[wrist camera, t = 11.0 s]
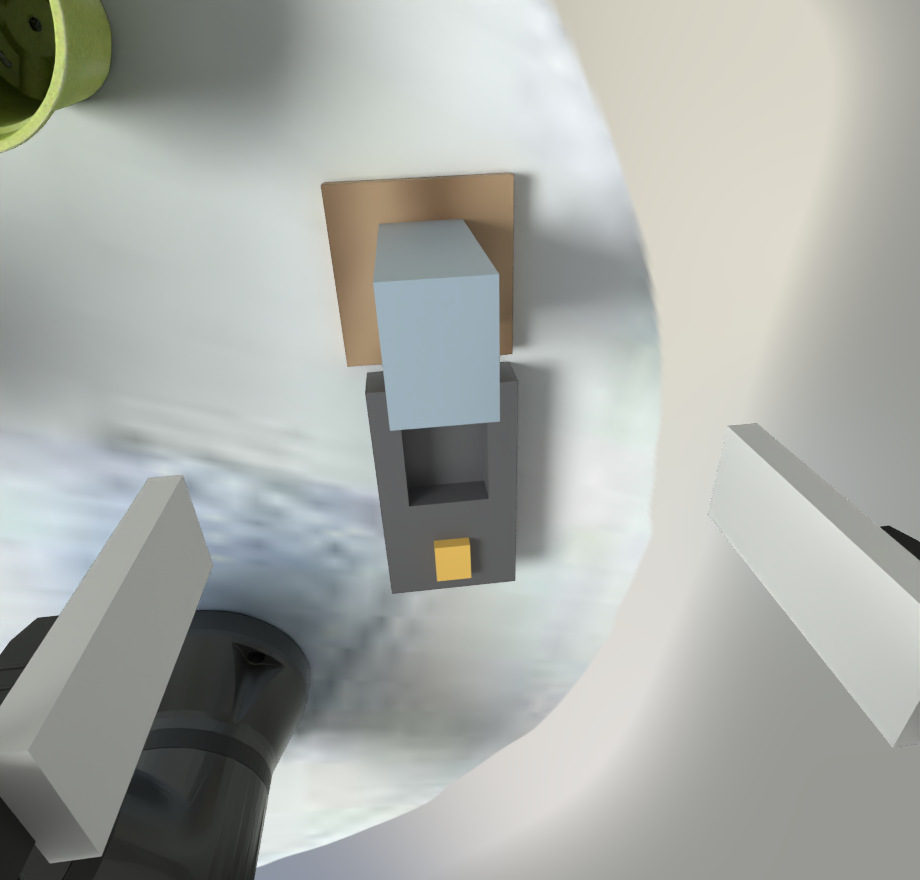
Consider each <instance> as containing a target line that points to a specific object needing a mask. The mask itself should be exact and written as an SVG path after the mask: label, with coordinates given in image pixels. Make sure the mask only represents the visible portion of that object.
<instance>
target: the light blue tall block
mask: <svg viewBox="0 0 920 880" xmlns="http://www.w3.org/2000/svg"><path fill="white" fill-rule="evenodd" d="M373 286H374V295H375V304H376V313H377V321H378V330H379V339H380V347H381V356H382V365H383V374H384V382H385V391H386V400H387V409H388V417H389V426H390V431H393V430H405V429H417V428H429V427H441V426H452V425H464V424H476V423H488V422H500V343H499V273H498V272H497V270H496V269H495V267H494V266H493V264H492V263H491V261H490V259H489V258H488V256H487V255H486V253H485V252H484V250H483V249H482V247H481V246H480V244H479V243H478V241H477V240H476V238H475V237H474V235H473V234H472V232H471V231H470V229H469V228H468V226H467V225H466V223H465V222H464V220H463V219H451V220H434V221H417V222H400V223H384V224H379V226H378V236H377V247H376V257H375V268H374V278H373Z"/></svg>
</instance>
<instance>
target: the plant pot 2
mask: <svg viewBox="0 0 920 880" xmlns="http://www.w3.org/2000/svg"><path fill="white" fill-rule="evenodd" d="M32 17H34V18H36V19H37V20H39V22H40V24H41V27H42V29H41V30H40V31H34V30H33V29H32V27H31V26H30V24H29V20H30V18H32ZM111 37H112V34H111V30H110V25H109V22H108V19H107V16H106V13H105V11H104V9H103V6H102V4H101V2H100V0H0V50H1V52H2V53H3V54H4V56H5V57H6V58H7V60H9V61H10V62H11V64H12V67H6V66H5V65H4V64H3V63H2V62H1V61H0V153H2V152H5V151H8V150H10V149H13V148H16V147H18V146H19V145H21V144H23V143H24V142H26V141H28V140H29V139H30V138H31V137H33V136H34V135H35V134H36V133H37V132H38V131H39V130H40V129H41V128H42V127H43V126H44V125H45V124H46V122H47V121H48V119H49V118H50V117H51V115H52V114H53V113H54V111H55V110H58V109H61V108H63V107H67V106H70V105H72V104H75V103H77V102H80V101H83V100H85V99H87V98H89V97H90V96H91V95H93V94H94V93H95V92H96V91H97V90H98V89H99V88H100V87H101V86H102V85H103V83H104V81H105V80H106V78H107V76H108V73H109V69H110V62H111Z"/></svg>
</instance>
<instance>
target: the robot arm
mask: <svg viewBox="0 0 920 880" xmlns="http://www.w3.org/2000/svg"><path fill="white" fill-rule="evenodd" d="M708 516H709V517H710V518H711V519H712V521H713V522H714V523H715V524H716V526H717V527H718V528H719V530H720V531H721V532H722V533H723V535H724V536H725V537H726V538H727V540H728V541H729V542H730V543H731V545H732V546H733V547H734V548H735V550H736V551H737V552H738V553H739V555H740V556H741V557H742V558H743V560H744V561H745V562H746V563H747V565H748V566H749V567H750V569H751V570H752V571H753V572H754V573H755V575H756V576H757V577H758V578H759V580H760V581H761V582H762V584H763V585H764V586H765V587H766V589H767V590H768V591H769V592H770V594H771V595H772V596H773V598H774V599H775V600H776V601H777V603H778V604H779V605H780V606H781V608H782V609H783V610H784V611H785V613H786V614H787V615H788V616H789V618H790V619H791V620H792V621H793V623H794V624H795V625H796V626H797V628H798V629H799V630H800V632H801V633H802V634H803V635H804V637H805V638H806V639H807V640H808V642H809V643H810V644H811V645H812V647H813V648H814V649H815V650H816V652H817V653H818V654H819V655H820V657H821V658H822V659H823V660H824V661H825V663H826V664H827V666H828V667H829V668H830V669H831V671H832V672H833V673H834V674H835V675H836V677H837V678H838V679H839V681H840V682H841V683H842V684H843V686H844V687H845V688H846V689H847V691H848V692H849V693H850V694H851V696H852V697H853V698H854V699H855V701H856V702H857V703H858V705H859V706H860V707H861V708H862V710H863V711H864V712H865V713H866V715H867V716H868V717H869V718H870V719H871V721H872V722H873V723H874V725H875V726H876V727H877V728H878V730H879V731H880V732H881V733H882V735H883V736H884V737H885V739H886V740H887V741H888V742H889V743H890V745H891V746H892V747H893V748H894V747H902V746H909V745H916V744H920V542H919V541H918V540H916V539H914V538H912V537H910V536H908V535H906V534H904V533H902V532H900V531H898V530H896V529H894V528H892V527H891V526H881V527H879V526H878V525H877V524H876V523H874V522H873V521H872V520H871V519H870V518H868V517H867V516H866V515H865V514H864V513H862V512H861V511H860V510H859V509H858V508H857V507H855V506H854V505H853V504H852V503H851V502H850V501H848V500H847V499H846V498H845V497H843V496H842V495H841V494H840V493H839V492H837V491H836V490H835V489H834V488H833V487H832V486H831V485H829V484H828V483H827V482H826V481H825V480H823V479H822V478H821V477H820V476H819V475H817V474H816V473H815V472H814V471H813V470H812V469H810V468H809V467H808V466H807V465H806V464H805V463H803V462H802V461H801V460H800V459H799V458H797V457H796V456H795V455H794V454H793V453H791V452H790V451H789V450H788V449H787V448H786V447H784V446H783V445H782V444H781V443H780V442H778V441H777V440H776V439H775V438H774V437H773V436H771V435H770V434H769V433H768V432H767V431H765V430H764V429H763V428H762V427H761V426H759V425H758V424H757V423H754V424H742V425H731V426H727V430H726V434H725V439H724V443H723V448H722V452H721V457H720V461H719V466H718V470H717V475H716V479H715V484H714V488H713V493H712V498H711V503H710V507H709V511H708ZM212 567H213V563H212V560H211V557H210V554H209V551H208V548H207V546H206V543H205V540H204V537H203V534H202V531H201V528H200V525H199V522H198V519H197V516H196V513H195V510H194V507H193V504H192V501H191V498H190V495H189V492H188V489H187V486H186V483H185V480H184V477H183V475H177V476H166V477H155V478H148V480H147V481H146V483H145V484H144V486H143V487H142V489H141V490H140V492H139V494H138V495H137V497H136V498H135V500H134V501H133V503H132V504H131V506H130V507H129V509H128V510H127V512H126V513H125V515H124V517H123V518H122V520H121V521H120V523H119V524H118V526H117V527H116V529H115V530H114V532H113V533H112V535H111V537H110V538H109V540H108V541H107V543H106V544H105V546H104V547H103V549H102V550H101V552H100V553H99V555H98V557H97V558H96V560H95V561H94V563H93V564H92V566H91V567H90V569H89V570H88V572H87V573H86V575H85V577H84V578H83V580H82V581H81V583H80V584H79V586H78V587H77V589H76V590H75V592H74V593H73V595H72V597H71V598H70V600H69V601H68V603H67V604H66V606H65V607H64V609H63V610H62V612H61V613H60V615H59V616H50V617H41V618H37V619H36V620H34V621H33V622H32V623H31V624H30V625H28V626H27V627H26V628H25V629H24V630H23V631H21V632H20V633H19V634H18V635H17V636H16V637H14V638H13V639H12V640H11V641H10V642H9V643H8V645H7V646H6V648H5V649H4V650H3V652H2V653H1V655H0V880H254V877H255V872H256V866H257V860H258V854H259V849H260V843H261V837H262V831H263V825H264V819H265V814H266V808H267V801H268V795H269V789H270V784H271V779H272V774H273V772H274V770H275V768H276V766H277V764H278V762H279V760H280V758H281V756H282V754H283V752H284V750H285V748H286V746H287V744H288V743H289V741H290V739H291V737H292V735H293V733H294V731H295V729H296V727H297V725H298V723H299V721H300V719H301V717H302V715H303V713H304V710H305V707H306V704H307V698H308V691H309V684H310V669H309V665H308V661H307V659H306V657H305V655H304V653H303V652H302V650H301V649H300V648H299V646H298V645H297V644H296V643H295V642H294V641H293V640H292V639H291V638H290V637H288V636H287V635H286V634H284V633H283V632H281V631H280V630H278V629H277V628H275V627H273V626H271V625H269V624H267V623H265V622H262V621H260V620H257V619H254V618H251V617H248V616H244V615H240V614H235V613H229V612H219V611H196V609H197V606H198V603H199V601H200V598H201V596H202V593H203V590H204V588H205V585H206V582H207V580H208V577H209V575H210V572H211V569H212ZM195 611H196V612H195Z"/></svg>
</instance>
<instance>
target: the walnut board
mask: <svg viewBox="0 0 920 880" xmlns="http://www.w3.org/2000/svg"><path fill="white" fill-rule="evenodd" d="M321 190H322V197H323V204H324V210H325V217H326V224H327V231H328V238H329V244H330V251H331V258H332V265H333V271H334V278H335V285H336V292H337V299H338V305H339V312H340V319H341V326H342V332H343V339H344V346H345V353H346V359H347V366H348V367H350V366H363V365H376V364H382V356H381V347H380V339H379V330H378V321H377V313H376V304H375V295H374V286H373V278H374V268H375V257H376V247H377V236H378V226H379V224H384V223H400V222H417V221H434V220H451V219H463V220H464V222H465V223H466V225H467V226H468V228H469V229H470V231H471V232H472V234H473V235H474V237H475V238H476V240H477V241H478V243H479V244H480V246H481V247H482V249H483V250H484V252H485V253H486V255H487V256H488V258H489V259H490V261H491V263H492V264H493V266H494V267H495V269H496V270H497V272H498V273H499V343H500V355H507V354H512V338H513V208H514V175H513V174H511V173H495V174H476V175H457V176H439V177H420V178H401V179H383V180H364V181H345V182H326V183H322V184H321Z"/></svg>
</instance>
